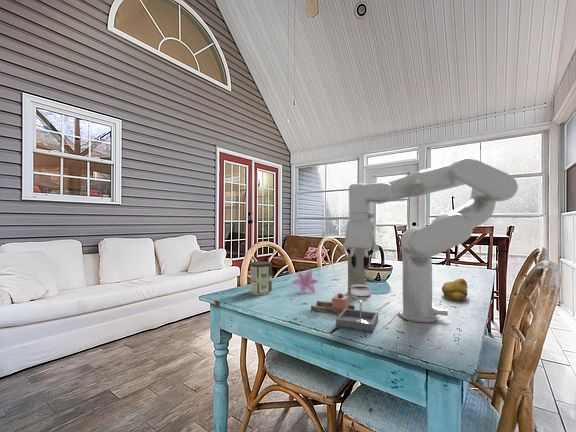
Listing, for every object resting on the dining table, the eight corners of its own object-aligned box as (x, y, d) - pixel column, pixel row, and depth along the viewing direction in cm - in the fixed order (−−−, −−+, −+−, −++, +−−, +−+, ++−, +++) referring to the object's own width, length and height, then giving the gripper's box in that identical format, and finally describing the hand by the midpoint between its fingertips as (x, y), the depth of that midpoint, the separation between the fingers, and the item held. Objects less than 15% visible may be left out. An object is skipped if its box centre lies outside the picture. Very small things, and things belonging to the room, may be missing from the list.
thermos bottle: (363, 290, 135) (362, 232, 135) (367, 295, 127) (366, 233, 127) (346, 290, 135) (345, 232, 135) (349, 295, 127) (349, 233, 127)
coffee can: (262, 288, 142) (262, 260, 142) (276, 291, 135) (276, 262, 135) (246, 292, 135) (245, 262, 135) (260, 296, 128) (259, 265, 128)
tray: (378, 320, 97) (378, 312, 97) (372, 332, 87) (372, 324, 87) (344, 315, 102) (344, 308, 102) (336, 326, 92) (335, 319, 92)
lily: (287, 294, 133) (291, 279, 129) (295, 280, 143) (299, 265, 139) (311, 304, 131) (316, 288, 126) (318, 288, 141) (322, 273, 136)
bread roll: (468, 304, 114) (468, 284, 114) (441, 300, 119) (441, 281, 119) (467, 296, 125) (466, 278, 125) (442, 293, 130) (441, 275, 130)
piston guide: (354, 309, 109) (354, 305, 109) (348, 318, 99) (348, 313, 99) (317, 304, 115) (317, 300, 115) (308, 312, 106) (308, 308, 106)
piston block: (348, 309, 108) (348, 292, 108) (345, 313, 104) (345, 296, 104) (335, 307, 110) (335, 291, 110) (332, 311, 106) (332, 294, 106)
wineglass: (355, 316, 99) (355, 282, 99) (374, 321, 95) (374, 285, 95) (346, 322, 94) (346, 286, 94) (366, 327, 89) (365, 289, 89)
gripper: (384, 217, 104) (384, 267, 104) (340, 217, 111) (340, 264, 111) (381, 217, 97) (382, 270, 97) (334, 217, 104) (335, 267, 104)
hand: (360, 266), depth 104 cm, fingers open, 3 cm apart
